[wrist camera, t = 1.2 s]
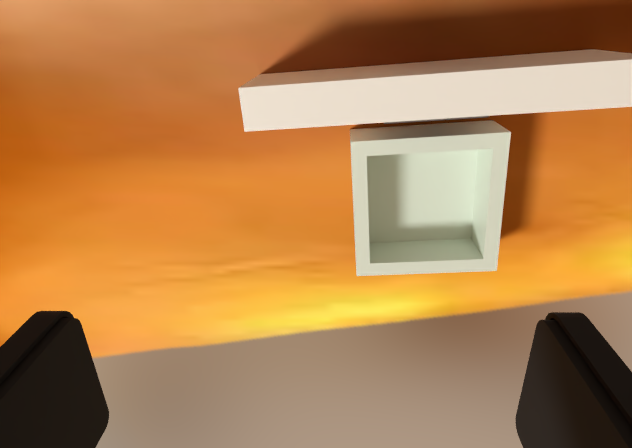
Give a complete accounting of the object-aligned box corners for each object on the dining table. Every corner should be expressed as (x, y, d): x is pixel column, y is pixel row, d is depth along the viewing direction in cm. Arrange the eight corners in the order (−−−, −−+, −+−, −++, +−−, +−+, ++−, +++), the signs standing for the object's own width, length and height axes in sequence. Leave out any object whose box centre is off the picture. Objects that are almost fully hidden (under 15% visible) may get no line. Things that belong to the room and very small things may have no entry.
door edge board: (260, 74, 31) (238, 87, 24) (593, 49, 29) (663, 56, 23) (265, 115, 32) (245, 138, 26) (585, 93, 30) (651, 112, 24)
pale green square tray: (349, 129, 32) (350, 141, 29) (492, 120, 31) (511, 132, 28) (355, 252, 36) (356, 275, 33) (482, 246, 35) (496, 270, 32)
